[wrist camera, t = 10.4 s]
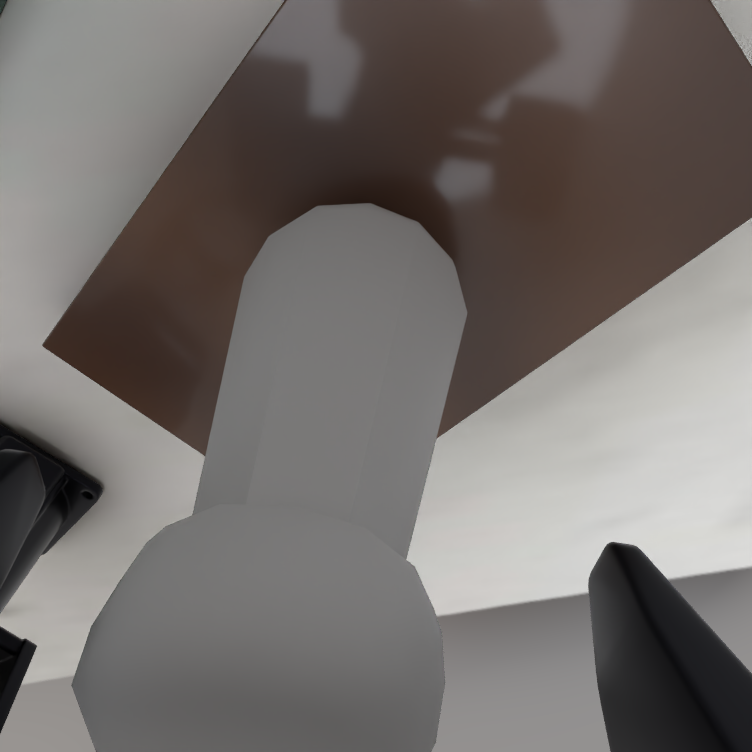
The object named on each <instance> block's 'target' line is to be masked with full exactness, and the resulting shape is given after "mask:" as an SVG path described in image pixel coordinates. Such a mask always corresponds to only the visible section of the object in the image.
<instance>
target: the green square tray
mask: <svg viewBox="0 0 752 752" xmlns="http://www.w3.org/2000/svg"><path fill="white" fill-rule="evenodd" d="M5 3H6V0H0V14H1V12H2V9H3V7H4V5H5Z"/></svg>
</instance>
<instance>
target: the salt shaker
mask: <svg viewBox="0 0 752 752" xmlns="http://www.w3.org/2000/svg"><path fill="white" fill-rule="evenodd" d="M466 317H467V309H466V306H465V302H464V298H463V294H462V290H461V287H460V283H459V279H458V275H457V271H456V268H455V265H454V263H453V260H452V259H451V258H450V257H449V255H448V254H447V253H446V252H445V251H444V250H443V249H442V248H441V247H440V245H439V244H438V243H437V242H436V241H435V240H434V239H433V238H432V237H431V235H430V234H429V233H428V232H427V231H426V230H425V229H424V228H423V227H422V225H421V224H420V223H419V222H417V221H414V220H412V219H409V218H406V217H404V216H401V215H399V214H396V213H394V212H391V211H389V210H386V209H384V208H381V207H379V206H376V205H374V204H371V203H362V204H342V205H322V206H316V207H315V208H313V209H311V210H310V211H308V212H307V213H305V214H303V215H302V216H300V217H299V218H297V219H295V220H294V221H292V222H290V223H289V224H287V225H286V226H284V227H282V228H281V229H279V230H278V231H276V232H275V233H273V234H271V235H270V236H269V237H268V238H267V240H266V242H265V243H264V245H263V246H262V248H261V250H260V251H259V253H258V255H257V256H256V258H255V260H254V261H253V263H252V265H251V266H250V268H249V270H248V271H247V273H246V274H245V276H244V280H243V284H242V289H241V294H240V298H239V303H238V307H237V312H236V317H235V321H234V326H233V331H232V335H231V340H230V344H229V349H228V354H227V358H226V363H225V368H224V372H223V377H222V381H221V386H220V391H219V395H218V400H217V404H216V409H215V414H214V418H213V423H212V428H211V432H210V437H209V441H208V446H207V451H206V455H205V460H204V465H203V469H202V474H201V478H200V483H199V488H198V492H197V497H196V502H195V506H194V511H193V515H192V516H190V517H187V518H185V519H183V520H180V521H178V522H175V523H173V524H170V525H168V526H166V527H164V528H163V529H162V530H161V531H160V532H159V533H157V534H156V535H155V536H154V537H153V538H152V539H151V540H149V541H148V542H147V543H146V544H145V546H144V547H143V549H142V550H141V552H140V553H139V554H138V556H137V557H136V559H135V560H134V562H133V563H132V564H131V566H130V567H129V569H128V570H127V572H126V573H125V574H124V576H123V577H122V579H121V580H120V582H119V583H118V585H117V586H116V588H115V590H114V591H113V593H112V594H111V596H110V598H109V599H108V601H107V602H106V604H105V606H104V607H103V609H102V610H101V612H100V614H99V615H98V617H97V618H96V620H95V622H94V623H93V625H92V626H91V629H90V632H89V635H88V638H87V641H86V644H85V647H84V650H83V653H82V656H81V658H80V661H79V664H78V667H77V670H76V673H75V676H74V679H73V682H72V688H73V690H74V693H75V696H76V699H77V701H78V704H79V707H80V710H81V712H82V715H83V718H84V721H85V724H86V726H87V729H88V732H89V734H90V737H91V739H92V742H93V745H94V747H95V750H96V752H431V751H432V749H433V747H434V745H435V743H436V737H437V730H438V724H439V718H440V711H441V705H442V698H443V693H444V686H445V676H444V658H443V641H442V631H441V628H440V625H439V622H438V620H437V617H436V614H435V611H434V608H433V606H432V604H431V602H430V599H429V597H428V595H427V593H426V590H425V588H424V586H423V584H422V582H421V579H420V577H419V575H418V573H417V571H416V568H415V566H413V565H412V564H411V563H410V562H408V561H407V560H406V558H407V554H408V550H409V546H410V542H411V538H412V534H413V530H414V526H415V522H416V518H417V514H418V510H419V506H420V502H421V498H422V494H423V490H424V486H425V482H426V478H427V474H428V470H429V466H430V462H431V458H432V454H433V450H434V446H435V442H436V438H437V434H438V430H439V426H440V422H441V418H442V414H443V410H444V406H445V401H446V397H447V393H448V389H449V385H450V381H451V377H452V373H453V369H454V365H455V361H456V357H457V353H458V349H459V345H460V341H461V337H462V333H463V329H464V325H465V321H466Z"/></svg>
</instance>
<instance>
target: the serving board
mask: <svg viewBox="0 0 752 752" xmlns="http://www.w3.org/2000/svg"><path fill="white" fill-rule="evenodd" d="M362 203H371V204H374V205H376V206H379V207H381V208H384V209H386V210H389V211H391V212H394V213H396V214H399V215H401V216H404V217H406V218H409V219H412V220H414V221H417V222H419V223H420V224H421V225H422V227H423V228H424V229H425V230H426V231H427V232H428V233H429V234H430V235H431V237H432V238H433V239H434V240H435V241H436V242H437V243H438V244H439V245H440V247H441V248H442V249H443V250H444V251H445V252H446V253H447V254H448V255H449V257H450V258H451V259H452V260H453V263H454V265H455V268H456V271H457V275H458V279H459V283H460V287H461V290H462V294H463V298H464V302H465V306H466V309H467V317H466V321H465V325H464V329H463V333H462V337H461V341H460V345H459V349H458V353H457V357H456V361H455V365H454V369H453V373H452V377H451V381H450V385H449V389H448V393H447V397H446V401H445V406H444V410H443V414H442V418H441V422H440V426H439V430H438V434H437V438H438V437H439V436H441V435H442V434H444V433H445V432H447V431H448V430H449V429H451V428H452V427H454V426H455V425H457V424H458V423H459V422H461V421H462V420H464V419H465V418H467V417H468V416H469V415H471V414H472V413H474V412H475V411H477V410H478V409H479V408H481V407H482V406H484V405H485V404H487V403H488V402H489V401H491V400H492V399H494V398H495V397H497V396H498V395H499V394H501V393H502V392H504V391H505V390H507V389H508V388H509V387H511V386H512V385H514V384H515V383H516V382H518V381H519V380H521V379H522V378H524V377H525V376H526V375H528V374H529V373H531V372H532V371H534V370H535V369H536V368H538V367H539V366H541V365H542V364H544V363H545V362H546V361H548V360H549V359H551V358H552V357H554V356H555V355H556V354H558V353H559V352H561V351H562V350H564V349H565V348H566V347H568V346H569V345H571V344H572V343H574V342H575V341H576V340H578V339H579V338H581V337H582V336H584V335H585V334H586V333H588V332H589V331H591V330H592V329H594V328H595V327H596V326H598V325H599V324H601V323H602V322H603V321H605V320H606V319H608V318H609V317H611V316H612V315H613V314H615V313H616V312H618V311H619V310H621V309H622V308H623V307H625V306H626V305H628V304H629V303H631V302H632V301H633V300H635V299H636V298H638V297H639V296H641V295H642V294H643V293H645V292H646V291H648V290H649V289H651V288H652V287H653V286H655V285H656V284H658V283H659V282H661V281H662V280H663V279H665V278H666V277H668V276H669V275H671V274H672V273H673V272H675V271H676V270H678V269H679V268H680V267H682V266H683V265H685V264H686V263H688V262H689V261H690V260H692V259H693V258H695V257H696V256H698V255H699V254H700V253H702V252H703V251H705V250H706V249H708V248H709V247H710V246H712V245H713V244H715V243H716V242H718V241H719V240H720V239H722V238H723V237H725V236H726V235H728V234H729V233H730V232H732V231H733V230H735V229H736V228H738V227H739V226H740V225H742V224H743V223H745V222H746V221H748V220H749V219H750V218H752V66H751V64H750V62H749V61H748V59H747V58H746V56H745V55H744V53H743V51H742V50H741V48H740V47H739V45H738V43H737V42H736V40H735V39H734V37H733V35H732V34H731V32H730V31H729V29H728V28H727V26H726V24H725V23H724V21H723V20H722V18H721V16H720V15H719V13H718V12H717V10H716V9H715V7H714V5H713V4H712V2H711V1H710V0H284V2H283V3H282V5H281V6H280V8H279V9H278V10H277V12H276V13H275V15H274V16H273V18H272V19H271V20H270V22H269V23H268V25H267V26H266V27H265V29H264V30H263V32H262V33H261V35H260V36H259V37H258V39H257V40H256V42H255V43H254V45H253V46H252V47H251V49H250V50H249V52H248V53H247V54H246V56H245V57H244V59H243V60H242V62H241V63H240V64H239V66H238V67H237V69H236V70H235V72H234V73H233V74H232V76H231V77H230V79H229V80H228V81H227V83H226V84H225V86H224V87H223V89H222V90H221V91H220V93H219V94H218V96H217V97H216V99H215V100H214V101H213V103H212V104H211V106H210V107H209V108H208V110H207V111H206V113H205V114H204V116H203V117H202V118H201V120H200V121H199V123H198V124H197V126H196V127H195V128H194V130H193V131H192V133H191V134H190V135H189V137H188V138H187V140H186V141H185V143H184V144H183V145H182V147H181V148H180V150H179V151H178V153H177V154H176V155H175V157H174V158H173V160H172V161H171V162H170V164H169V165H168V167H167V168H166V170H165V171H164V172H163V174H162V175H161V177H160V178H159V180H158V181H157V182H156V184H155V185H154V187H153V188H152V189H151V191H150V192H149V194H148V195H147V197H146V198H145V199H144V201H143V202H142V204H141V205H140V207H139V208H138V209H137V211H136V212H135V214H134V215H133V216H132V218H131V219H130V221H129V222H128V224H127V225H126V226H125V228H124V229H123V231H122V232H121V234H120V235H119V236H118V238H117V239H116V241H115V242H114V243H113V245H112V246H111V248H110V249H109V251H108V252H107V253H106V255H105V256H104V258H103V259H102V260H101V262H100V263H99V265H98V266H97V268H96V269H95V270H94V272H93V273H92V275H91V276H90V278H89V279H88V280H87V282H86V283H85V285H84V286H83V287H82V289H81V290H80V292H79V293H78V295H77V296H76V297H75V299H74V300H73V302H72V303H71V305H70V306H69V307H68V309H67V310H66V312H65V313H64V314H63V316H62V317H61V319H60V320H59V322H58V323H57V324H56V326H55V327H54V329H53V330H52V332H51V333H50V334H49V336H48V337H47V339H46V340H45V341H44V343H43V345H42V346H43V347H44V348H46V349H47V350H49V351H50V352H52V353H53V354H55V355H56V356H58V357H59V358H61V359H62V360H64V361H65V362H66V363H68V364H69V365H71V366H72V367H74V368H75V369H77V370H78V371H80V372H81V373H83V374H84V375H86V376H87V377H89V378H90V379H92V380H93V381H95V382H96V383H98V384H99V385H101V386H102V387H104V388H105V389H107V390H108V391H109V392H111V393H112V394H114V395H115V396H117V397H118V398H120V399H121V400H123V401H124V402H126V403H127V404H129V405H130V406H132V407H133V408H135V409H136V410H138V411H139V412H141V413H142V414H144V415H145V416H147V417H148V418H150V419H151V420H152V421H154V422H155V423H157V424H158V425H160V426H161V427H163V428H164V429H166V430H167V431H169V432H170V433H172V434H173V435H175V436H176V437H178V438H179V439H181V440H182V441H184V442H185V443H187V444H188V445H190V446H191V447H193V448H194V449H195V450H197V451H198V452H200V453H201V454H203V455H204V456H205V455H206V451H207V446H208V441H209V437H210V432H211V428H212V423H213V418H214V414H215V409H216V404H217V400H218V395H219V391H220V386H221V381H222V377H223V372H224V368H225V363H226V358H227V354H228V349H229V344H230V340H231V335H232V331H233V326H234V321H235V317H236V312H237V307H238V303H239V298H240V294H241V289H242V284H243V280H244V276H245V274H246V273H247V271H248V270H249V268H250V266H251V265H252V263H253V261H254V260H255V258H256V256H257V255H258V253H259V251H260V250H261V248H262V246H263V245H264V243H265V242H266V240H267V238H268V237H269V236H270V235H271V234H273V233H275V232H276V231H278V230H279V229H281V228H282V227H284V226H286V225H287V224H289V223H290V222H292V221H294V220H295V219H297V218H299V217H300V216H302V215H303V214H305V213H307V212H308V211H310V210H311V209H313V208H315V207H316V206H322V205H342V204H362ZM437 438H436V439H437Z"/></svg>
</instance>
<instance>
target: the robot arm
mask: <svg viewBox="0 0 752 752" xmlns="http://www.w3.org/2000/svg"><path fill="white" fill-rule="evenodd" d="M102 493H103V489H102V488H101V486H100V485H98V484H97V483H96V482H94V481H92V480H91V479H89V478H87V477H86V476H84V475H82V474H81V473H79V472H78V471H76V470H74V469H73V468H71V467H69V466H68V465H66V464H64V463H63V462H61V461H59V460H58V459H56V458H54V457H53V456H51V455H50V454H48V453H46V452H45V451H43V450H41V449H40V448H38V447H36V446H35V445H33V444H31V443H30V442H28V441H26V440H25V439H23V438H22V437H20V436H18V435H17V434H15V433H13V432H12V431H10V430H8V429H7V428H5V427H3V426H2V425H0V613H1V612H2V610H3V609H4V607H5V606H6V604H7V603H8V602H9V600H10V599H11V597H12V596H13V594H14V593H15V592H16V590H17V589H18V587H19V586H20V584H21V583H22V582H23V580H24V579H25V577H26V576H27V574H28V573H29V572H30V570H31V569H32V567H33V566H34V564H35V563H36V562H37V560H38V559H39V557H40V556H41V555H43V554H45V553H46V552H47V551H48V550H49V549H50V548H51V547H52V546H53V545H54V544H55V543H56V542H57V541H58V540H59V539H60V538H61V537H62V536H63V535H64V534H65V533H66V532H67V531H68V530H69V529H70V528H71V527H72V526H73V525H74V524H75V523H76V522H77V521H78V520H79V519H80V518H81V517H82V516H83V515H84V514H85V513H86V512H87V511H88V510H89V509H90V508H91V507H92V506H93V505H94V504H95V503H96V502H97V501H98V499H99V498H100V496H101V495H102ZM588 588H589V599H590V610H591V621H592V632H593V643H594V653H595V665H596V674H597V683H598V690H599V694H600V700H601V706H602V711H603V715H604V721H605V726H606V731H607V735H608V741H609V746H610V751H611V752H752V673H751V672H750V671H749V670H748V669H747V668H746V667H745V666H744V665H743V663H742V662H741V661H740V660H739V659H738V658H737V657H736V656H735V654H734V653H733V652H732V651H731V650H730V649H729V648H728V647H727V646H726V644H725V643H724V642H723V641H722V640H721V639H720V638H719V637H718V635H717V634H716V633H715V632H714V631H713V630H712V629H711V628H710V627H709V625H708V624H707V623H706V622H705V621H704V620H703V619H702V618H701V617H700V615H699V614H698V613H697V612H696V611H695V610H694V609H693V608H692V606H691V605H690V604H689V603H688V602H687V601H686V600H685V599H684V598H683V596H682V595H681V594H680V593H679V592H678V591H677V590H676V589H675V588H674V586H673V585H672V584H671V583H670V582H669V581H668V580H667V579H666V577H665V576H664V575H663V574H662V573H661V572H660V571H659V570H658V568H657V567H656V566H655V565H654V564H653V563H652V562H651V561H650V560H649V558H648V557H647V556H646V555H645V554H644V553H643V552H642V551H641V550H640V549H639V548H638V547H636V546H634V545H629V544H623V543H616V542H611V543H609V544H607V545H606V547H605V548H604V550H603V552H602V553H601V555H600V557H599V559H598V561H597V562H596V564H595V566H594V568H593V570H592V571H591V574H590V577H589V584H588ZM36 647H37V645H35V644H34V643H32V642H30V641H29V640H27V639H26V638H25V639H20V638H19V637H17V636H15V635H14V634H12V633H10V632H9V631H7V630H5V629H4V628H2V627H0V733H1V730H2V728H3V726H4V723H5V721H6V719H7V716H8V714H9V711H10V709H11V707H12V704H13V702H14V700H15V697H16V695H17V692H18V690H19V688H20V685H21V683H22V681H23V678H24V676H25V674H26V671H27V669H28V666H29V664H30V662H31V659H32V657H33V655H34V652H35V650H36Z"/></svg>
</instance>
